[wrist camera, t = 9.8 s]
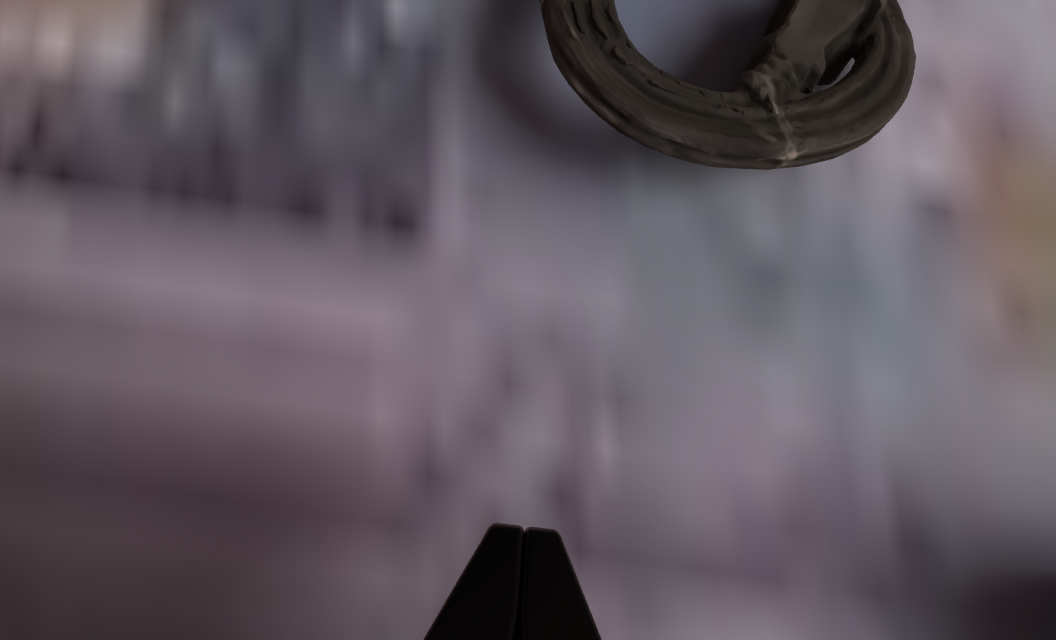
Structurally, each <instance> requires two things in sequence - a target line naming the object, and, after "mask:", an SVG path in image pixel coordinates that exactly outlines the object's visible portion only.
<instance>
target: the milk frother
mask: <svg viewBox="0 0 1056 640" xmlns="http://www.w3.org/2000/svg"><path fill="white" fill-rule="evenodd" d="M540 3H541V11H542V16H543V20H544V25H545V30H546V34H547V39H548V42H549V46H550V49H551V53H552V56H553V59H554V61H555V63H556V65H557V67H558V68H559V70H560V72H561V73H562V75H563V76H564V78H565V79H566V81H567V82H568V84H569V85H570V86H571V87H572V88H573V90H574V91H575V92H576V93H577V94H578V95H579V97H580V98H581V99H582V100H583V101H584V103H585V104H586V105H587V106H588V107H589V108H590V109H591V110H593V111H594V112H595V113H596V114H597V115H598V116H599V117H600V118H602V119H603V120H604V121H606V122H607V123H608V124H609V125H611V126H612V127H613V128H615V129H616V130H617V131H618V132H620V133H622V134H624V135H625V136H627V137H629V138H631V139H633V140H635V141H637V142H638V143H640V144H642V145H644V146H646V147H648V148H651V149H654V150H656V151H659V152H662V153H664V154H667V155H670V156H672V157H675V158H677V159H681V160H685V161H688V162H692V163H697V164H702V165H706V166H712V167H723V168H741V169H764V170H769V169H777V168H788V167H799V166H804V165H809V164H813V163H817V162H822V161H826V160H830V159H834V158H836V157H838V156H840V155H843V154H845V153H847V152H849V151H851V150H853V149H855V148H857V147H859V146H861V145H862V144H864V143H866V142H867V141H869V140H870V139H871V138H872V137H873V136H875V135H876V134H877V133H878V132H880V130H881V129H882V128H883V127H884V126H885V125H886V124H887V123H888V122H889V121H890V120H891V119H892V118H893V116H894V115H895V114H896V113H897V111H898V110H899V109H900V107H901V106H902V104H903V103H904V101H905V99H906V97H907V95H908V92H909V89H910V86H911V83H912V79H913V74H914V69H915V60H916V55H915V51H914V46H913V39H912V35H911V32H910V30H909V28H908V25H907V23H906V21H905V19H904V17H903V14H902V10H901V8H900V6H899V4H898V2H897V0H780V1H779V3H778V6H777V8H776V11H775V12H774V14H773V15H772V17H771V18H770V19H769V22H768V24H767V27H766V30H765V33H764V37H763V39H762V40H761V41H760V42H759V44H758V45H757V46H756V48H755V50H754V52H753V54H752V56H751V58H750V61H749V62H748V64H747V66H746V67H745V69H744V70H743V73H742V75H741V76H740V78H739V79H738V81H737V82H736V84H735V86H734V87H733V89H732V90H731V92H718V91H712V90H709V89H706V88H702V87H697V86H694V85H692V84H689V83H687V82H684V81H681V80H678V79H675V78H673V77H672V76H671V75H669V74H668V73H666V72H665V71H663V70H659V69H658V68H656V67H655V66H654V65H653V64H651V63H650V62H649V61H648V60H647V59H646V58H645V57H644V56H642V55H641V54H640V53H639V52H638V51H637V49H636V48H635V47H634V45H633V44H632V43H631V41H630V40H629V39H628V37H627V35H626V33H625V31H624V29H623V27H622V25H621V23H620V21H619V19H618V15H617V11H616V8H615V3H614V0H540ZM851 58H854V60H855V62H854V64H853V66H852V68H851V70H850V71H849V72H848V73H847V74H846V75H845V76H844V77H843V78H842V79H841V80H840V81H839V82H837V83H836V84H835V85H834V86H832V87H830V88H828V89H826V90H823V91H816V89H815V86H816V85H819V86H822V85H828V84H831V83H832V82H834V81H835V80H836V79H837V77H838V76H839V74H840V73H841V71H842V70H843V69H844V67H845V66H846V64H847V63H848V62H849V61H850V60H851Z"/></svg>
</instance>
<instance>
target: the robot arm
mask: <svg viewBox="0 0 1056 640" xmlns="http://www.w3.org/2000/svg"><path fill="white" fill-rule="evenodd" d="M424 640H601V637H600V635H599V632H598V629H597V627H596V624H595V622H594V619H593V617H592V614H591V612H590V609H589V607H588V604H587V601H586V599H585V596H584V594H583V591H582V589H581V586H580V584H579V581H578V579H577V576H576V573H575V571H574V568H573V566H572V563H571V561H570V558H569V556H568V553H567V551H566V548H565V546H564V543H563V540H562V538H561V536H560V534H559V533H558V532H557V531H556V530H554V529H546V528H537V527H529V528H527V529H526V530H525V533H524V530H523V528H522V527H521V526H519V525H510V524H501V523H494V524H492V525H491V526H490V527H489V528H488V530H487V532H486V533H485V535H484V537H483V538H482V540H481V542H480V544H479V545H478V547H477V549H476V550H475V552H474V554H473V556H472V557H471V559H470V561H469V562H468V564H467V566H466V568H465V569H464V571H463V573H462V574H461V576H460V578H459V580H458V581H457V583H456V585H455V586H454V588H453V590H452V592H451V593H450V595H449V597H448V598H447V600H446V602H445V604H444V605H443V607H442V609H441V610H440V612H439V614H438V616H437V617H436V619H435V621H434V622H433V624H432V626H431V628H430V629H429V631H428V633H427V634H426V636H425V638H424Z"/></svg>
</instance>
